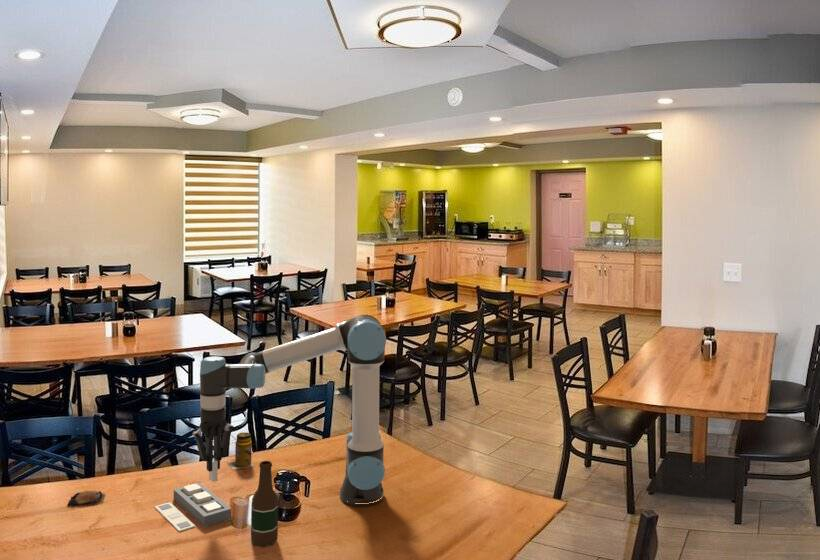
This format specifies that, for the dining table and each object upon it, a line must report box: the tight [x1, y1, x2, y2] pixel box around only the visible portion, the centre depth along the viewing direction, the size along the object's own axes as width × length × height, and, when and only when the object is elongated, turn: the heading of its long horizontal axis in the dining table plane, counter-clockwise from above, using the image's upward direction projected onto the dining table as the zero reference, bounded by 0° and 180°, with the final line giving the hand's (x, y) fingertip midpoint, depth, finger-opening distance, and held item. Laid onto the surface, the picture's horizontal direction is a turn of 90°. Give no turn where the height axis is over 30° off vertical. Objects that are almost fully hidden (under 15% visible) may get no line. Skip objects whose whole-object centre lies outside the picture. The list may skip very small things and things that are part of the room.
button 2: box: [202, 502, 222, 513], centre depth 198 cm, size 4×4×2 cm
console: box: [173, 482, 233, 528], centre depth 203 cm, size 24×9×4 cm, turn 42°
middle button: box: [192, 491, 211, 504], centre depth 203 cm, size 4×4×2 cm
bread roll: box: [67, 490, 106, 508], centre depth 206 cm, size 11×8×4 cm
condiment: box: [227, 432, 256, 470], centre depth 240 cm, size 7×8×12 cm
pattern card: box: [154, 502, 196, 533], centre depth 197 cm, size 20×5×1 cm, turn 42°
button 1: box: [182, 483, 202, 496], centre depth 209 cm, size 4×4×2 cm
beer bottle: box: [250, 460, 279, 548], centre depth 184 cm, size 8×8×24 cm
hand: (213, 479), depth 197 cm, fingers closed
